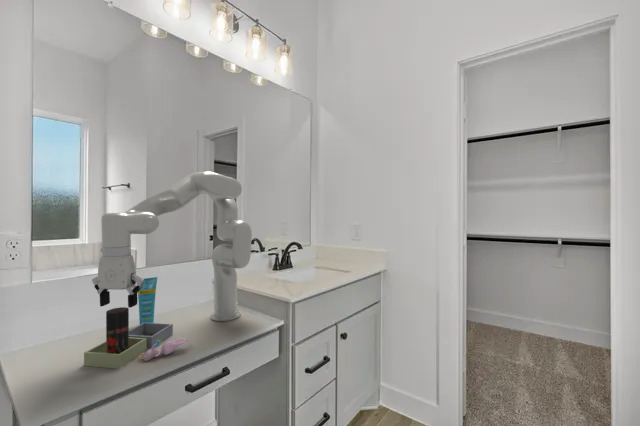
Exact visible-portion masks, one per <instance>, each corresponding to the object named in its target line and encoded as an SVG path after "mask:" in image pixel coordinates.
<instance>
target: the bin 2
mask: <svg viewBox="0 0 640 426" xmlns="http://www.w3.org/2000/svg"><path fill="white" fill-rule="evenodd" d="M173 327H174V326H173V323H159V322H158V323H157V322H154V323H146V322H144V323H142V324H140V323H139V324H138V325H136V326H134V327H133V328H131V329H129V337H133V338H147V350H149V349H151V348H152V346H153V345H154V344H156V343H157V342H156V340H161V343H163V342H164V341H165V340H167V339H169V338H170V337H171V336H173V335H174V330H173V329H174V328H173ZM146 334H147V335H146Z"/></svg>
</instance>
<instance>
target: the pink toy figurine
mask: <svg viewBox="0 0 640 426" xmlns="http://www.w3.org/2000/svg"><path fill="white" fill-rule="evenodd" d="M189 341H190V340H188V339H187V338H177V339H175V340H169V341H165V342H164V343H163V344H162V342H161V340H156V342H157V343H156V344H154V345H153V346H152V348H151V349H147V350H146V351H145V352H143V353H140V355H139V356H138V355H137V357H136V358H137V361H138V363H139V364H140V363H141V359H143V361H144V362H149V361H150V360H152V359H154V357H155V358H156V357H159V355H160V354H161V353H162V355H164V356H168V355H169V354H172V353H173V352H174V351H175V350H176V348H178V347H179V346H182V345H183V344H184V343H189ZM161 344H162V346H161V348H160V349H159V348H158V347H159V346H160V345H161ZM140 356H141V357H140Z"/></svg>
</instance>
